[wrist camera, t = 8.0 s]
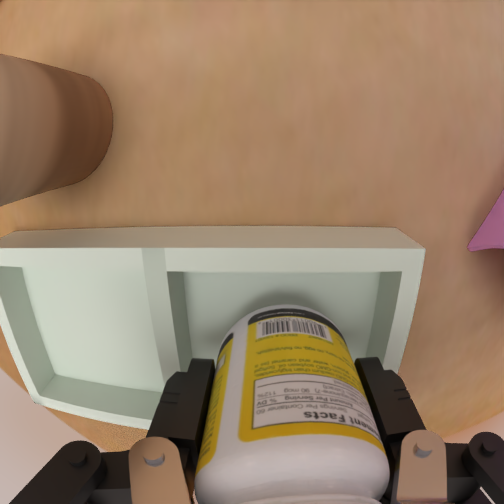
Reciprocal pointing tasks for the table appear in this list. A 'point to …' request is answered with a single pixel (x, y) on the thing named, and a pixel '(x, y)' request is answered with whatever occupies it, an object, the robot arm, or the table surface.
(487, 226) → the toy chair
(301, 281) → the slot rack
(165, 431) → the robot arm
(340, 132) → the table surface
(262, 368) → the supplement bottle
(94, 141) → the walnut dowel
